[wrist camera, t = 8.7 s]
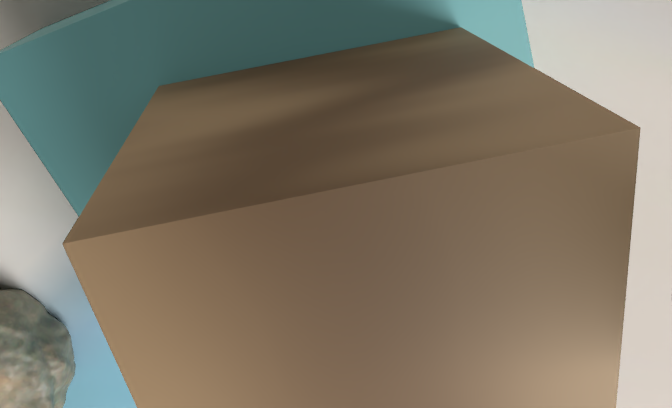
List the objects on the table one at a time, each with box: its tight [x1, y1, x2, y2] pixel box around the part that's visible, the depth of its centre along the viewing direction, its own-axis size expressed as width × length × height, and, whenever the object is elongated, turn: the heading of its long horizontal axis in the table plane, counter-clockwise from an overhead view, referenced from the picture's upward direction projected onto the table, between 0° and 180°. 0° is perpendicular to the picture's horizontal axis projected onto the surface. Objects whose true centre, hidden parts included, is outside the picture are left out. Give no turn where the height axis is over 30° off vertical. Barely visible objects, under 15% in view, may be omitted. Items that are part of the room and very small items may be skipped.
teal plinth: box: [0, 0, 534, 216], centre depth 14 cm, size 10×10×4 cm
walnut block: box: [63, 27, 640, 408], centre depth 10 cm, size 6×6×6 cm
